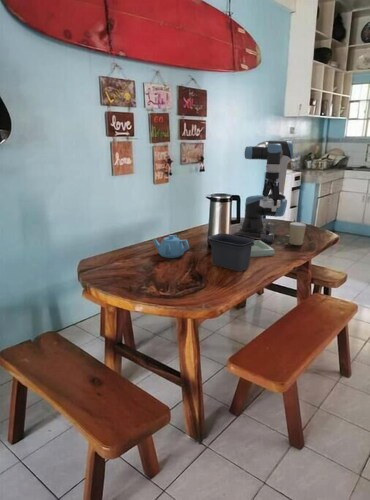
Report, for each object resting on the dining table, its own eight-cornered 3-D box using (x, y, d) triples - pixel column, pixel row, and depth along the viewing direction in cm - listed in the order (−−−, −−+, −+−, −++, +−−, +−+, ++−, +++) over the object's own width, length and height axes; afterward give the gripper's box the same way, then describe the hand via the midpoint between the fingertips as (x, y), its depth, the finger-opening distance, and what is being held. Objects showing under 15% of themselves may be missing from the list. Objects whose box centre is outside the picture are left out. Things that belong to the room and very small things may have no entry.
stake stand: (258, 240, 227) (259, 222, 224) (270, 239, 229) (271, 221, 226) (263, 244, 220) (265, 225, 216) (275, 243, 222) (277, 224, 218)
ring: (257, 204, 222) (257, 198, 221) (274, 204, 224) (274, 198, 223) (265, 208, 212) (265, 202, 211) (282, 207, 214) (283, 201, 213)
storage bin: (204, 264, 184) (205, 237, 179) (222, 257, 195) (223, 231, 190) (240, 275, 170) (242, 245, 166) (258, 267, 181) (260, 239, 177)
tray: (229, 247, 213) (229, 241, 212) (259, 245, 217) (260, 240, 216) (240, 257, 195) (241, 251, 194) (274, 255, 199) (274, 249, 198)
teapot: (166, 261, 188) (166, 240, 185) (151, 253, 200) (151, 234, 197) (190, 256, 196) (191, 236, 193) (175, 249, 208) (175, 230, 205)
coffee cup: (302, 241, 226) (304, 222, 223) (305, 245, 217) (307, 225, 214) (286, 240, 227) (288, 221, 223) (289, 245, 218) (291, 225, 215)
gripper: (258, 169, 222) (255, 205, 229) (275, 173, 200) (272, 213, 207) (269, 169, 224) (267, 205, 230) (288, 173, 202) (284, 213, 208)
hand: (269, 209), depth 218 cm, fingers closed on ring, 11 cm apart
